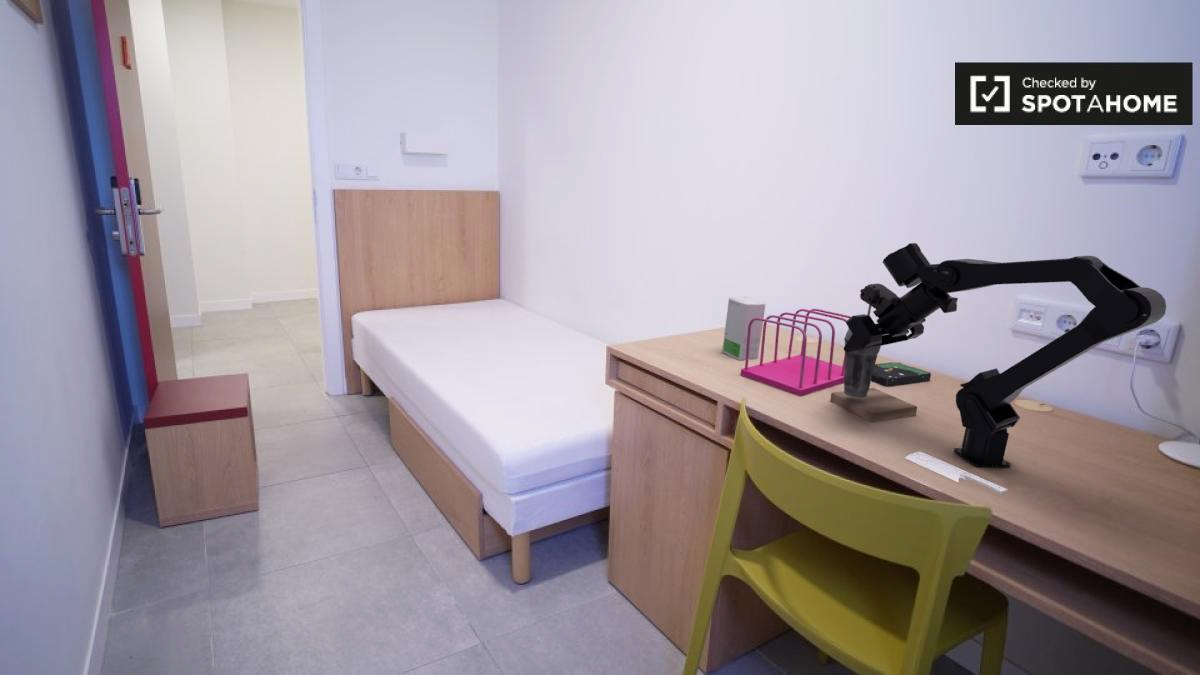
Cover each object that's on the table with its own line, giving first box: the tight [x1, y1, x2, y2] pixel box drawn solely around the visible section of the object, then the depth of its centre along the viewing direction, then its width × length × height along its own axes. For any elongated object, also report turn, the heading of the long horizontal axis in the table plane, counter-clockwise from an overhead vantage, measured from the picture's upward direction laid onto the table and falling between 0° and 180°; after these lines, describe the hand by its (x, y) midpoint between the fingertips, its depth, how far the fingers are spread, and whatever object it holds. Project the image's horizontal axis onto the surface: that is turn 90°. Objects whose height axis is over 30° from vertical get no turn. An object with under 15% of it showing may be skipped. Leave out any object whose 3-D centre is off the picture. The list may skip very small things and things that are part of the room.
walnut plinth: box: [830, 387, 918, 423], centre depth 130 cm, size 12×12×2 cm
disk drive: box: [871, 361, 932, 388], centre depth 152 cm, size 10×3×15 cm
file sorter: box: [740, 308, 853, 397], centre depth 148 cm, size 17×25×16 cm
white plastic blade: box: [905, 451, 1008, 495], centre depth 102 cm, size 5×15×1 cm, turn 28°
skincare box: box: [721, 296, 766, 361], centre depth 164 cm, size 8×7×16 cm
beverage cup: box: [843, 304, 883, 398], centre depth 126 cm, size 7×7×20 cm
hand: (856, 348), depth 127 cm, fingers closed on beverage cup, 7 cm apart
